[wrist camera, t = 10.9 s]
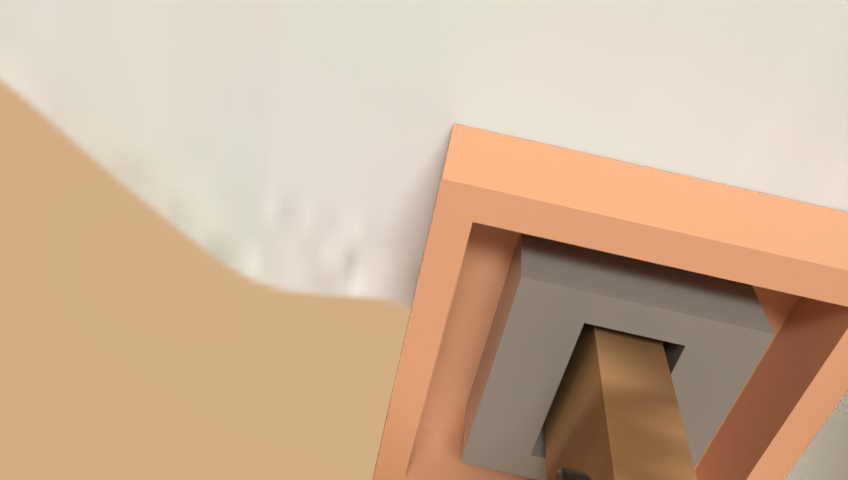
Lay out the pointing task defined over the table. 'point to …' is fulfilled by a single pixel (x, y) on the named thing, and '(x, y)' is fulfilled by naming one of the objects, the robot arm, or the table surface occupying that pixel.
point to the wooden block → (617, 412)
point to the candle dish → (613, 310)
